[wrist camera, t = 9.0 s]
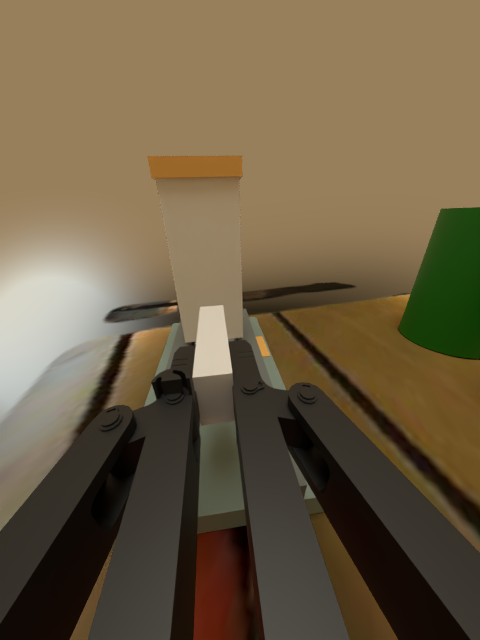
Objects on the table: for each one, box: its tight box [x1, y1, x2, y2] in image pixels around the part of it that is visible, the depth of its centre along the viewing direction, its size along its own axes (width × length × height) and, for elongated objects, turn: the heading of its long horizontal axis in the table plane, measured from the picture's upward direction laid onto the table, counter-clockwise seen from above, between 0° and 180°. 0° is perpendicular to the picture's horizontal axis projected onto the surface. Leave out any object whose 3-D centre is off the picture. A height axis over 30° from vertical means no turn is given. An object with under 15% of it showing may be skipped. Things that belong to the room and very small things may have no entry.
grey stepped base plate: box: [112, 309, 324, 548], centre depth 21 cm, size 22×12×4 cm, turn 7°
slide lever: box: [148, 156, 243, 345], centre depth 20 cm, size 4×6×17 cm, turn 97°
